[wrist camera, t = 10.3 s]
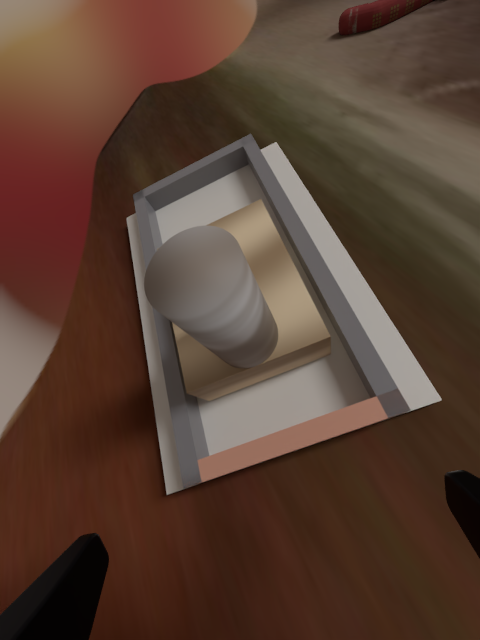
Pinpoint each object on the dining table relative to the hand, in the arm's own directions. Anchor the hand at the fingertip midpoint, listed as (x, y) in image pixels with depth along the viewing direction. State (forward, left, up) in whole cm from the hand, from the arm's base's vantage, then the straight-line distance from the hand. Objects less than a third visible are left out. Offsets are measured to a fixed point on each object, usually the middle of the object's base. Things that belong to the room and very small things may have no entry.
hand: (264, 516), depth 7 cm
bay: (+15, 0, -12) cm, 19 cm away
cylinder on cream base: (+12, 0, -10) cm, 16 cm away
